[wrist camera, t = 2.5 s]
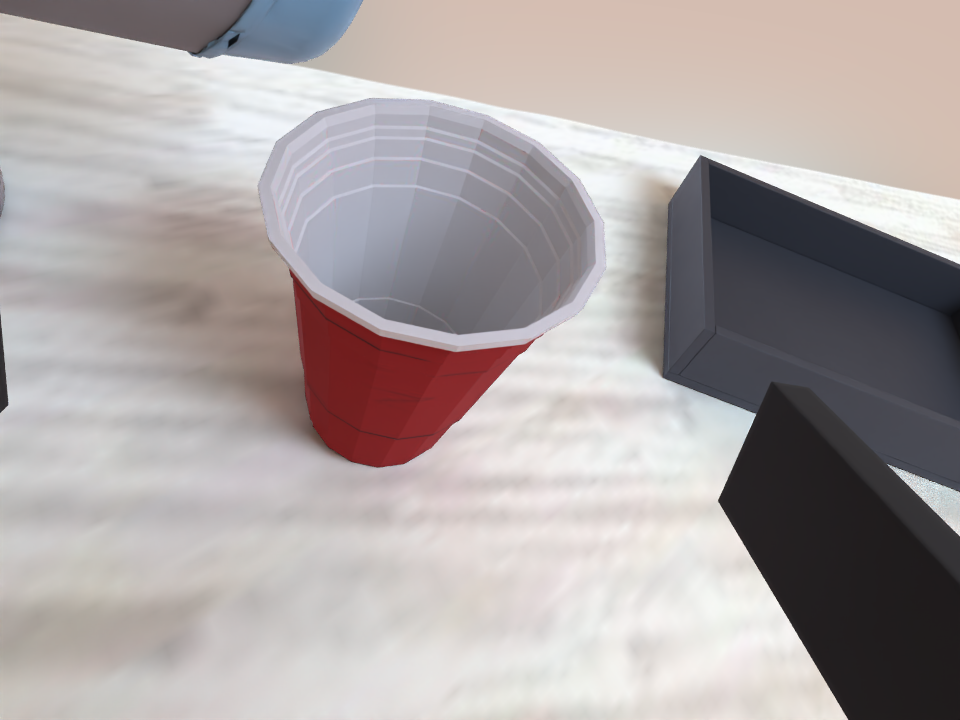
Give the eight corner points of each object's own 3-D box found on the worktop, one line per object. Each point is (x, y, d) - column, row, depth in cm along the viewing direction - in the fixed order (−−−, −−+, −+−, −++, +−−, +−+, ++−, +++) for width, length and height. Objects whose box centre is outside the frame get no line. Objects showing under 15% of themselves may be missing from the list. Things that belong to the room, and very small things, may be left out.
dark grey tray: (662, 377, 37) (704, 328, 34) (668, 203, 48) (700, 154, 45) (1021, 515, 39) (1090, 480, 36) (949, 319, 50) (997, 280, 47)
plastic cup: (202, 341, 30) (207, 89, 21) (424, 297, 35) (502, 84, 26) (295, 572, 25) (353, 373, 16) (533, 478, 31) (673, 294, 22)
